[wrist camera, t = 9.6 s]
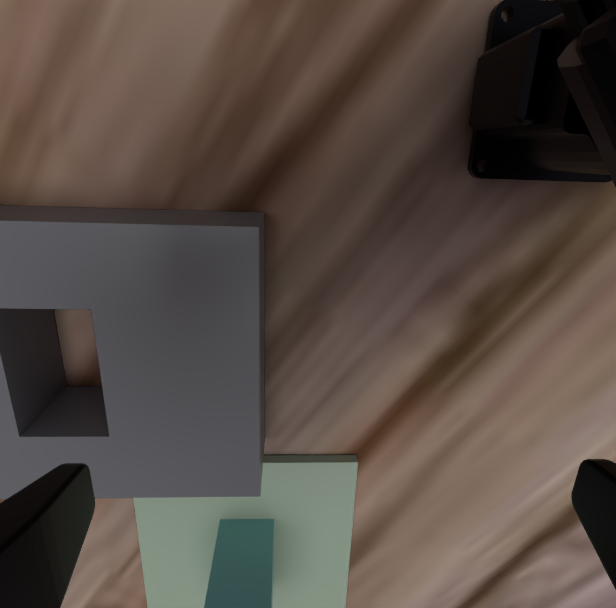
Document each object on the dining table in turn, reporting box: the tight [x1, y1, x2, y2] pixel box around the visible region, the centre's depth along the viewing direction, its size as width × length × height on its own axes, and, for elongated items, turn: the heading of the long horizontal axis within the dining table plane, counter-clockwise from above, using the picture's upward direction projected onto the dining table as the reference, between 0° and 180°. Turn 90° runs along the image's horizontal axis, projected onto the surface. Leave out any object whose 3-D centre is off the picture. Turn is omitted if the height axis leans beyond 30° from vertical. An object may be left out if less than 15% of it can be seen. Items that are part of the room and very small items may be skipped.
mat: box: [134, 455, 358, 608], centre depth 25 cm, size 12×12×1 cm
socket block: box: [0, 205, 265, 499], centre depth 19 cm, size 16×12×4 cm
